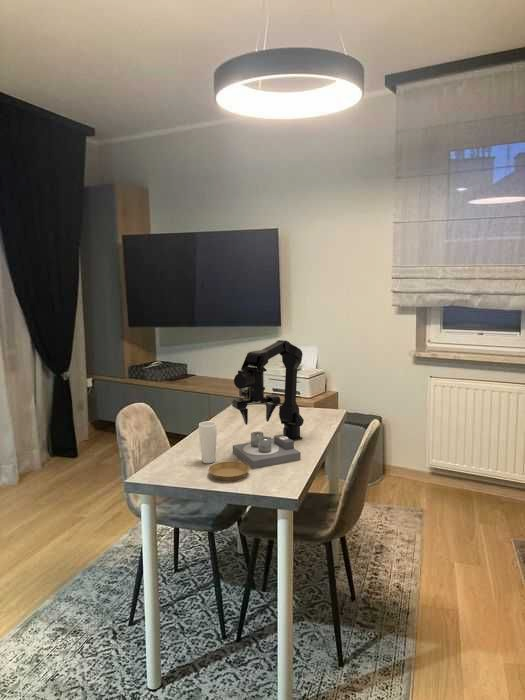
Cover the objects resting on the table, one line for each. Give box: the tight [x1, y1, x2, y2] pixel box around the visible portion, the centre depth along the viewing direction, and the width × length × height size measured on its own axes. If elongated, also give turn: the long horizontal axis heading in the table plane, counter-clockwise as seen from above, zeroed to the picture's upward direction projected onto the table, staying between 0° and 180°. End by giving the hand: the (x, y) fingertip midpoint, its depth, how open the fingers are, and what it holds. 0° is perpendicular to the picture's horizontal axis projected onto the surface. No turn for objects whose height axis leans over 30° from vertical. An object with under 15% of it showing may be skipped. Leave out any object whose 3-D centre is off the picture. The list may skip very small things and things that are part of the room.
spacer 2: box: [258, 435, 272, 453], centre depth 203 cm, size 5×5×5 cm
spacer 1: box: [250, 431, 264, 448], centre depth 209 cm, size 5×5×5 cm
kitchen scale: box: [232, 434, 302, 470], centre depth 207 cm, size 20×20×6 cm
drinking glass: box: [198, 420, 218, 464], centre depth 202 cm, size 7×7×15 cm
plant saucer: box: [207, 460, 251, 482], centre depth 189 cm, size 15×15×3 cm
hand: (256, 422), depth 208 cm, fingers open, 9 cm apart
